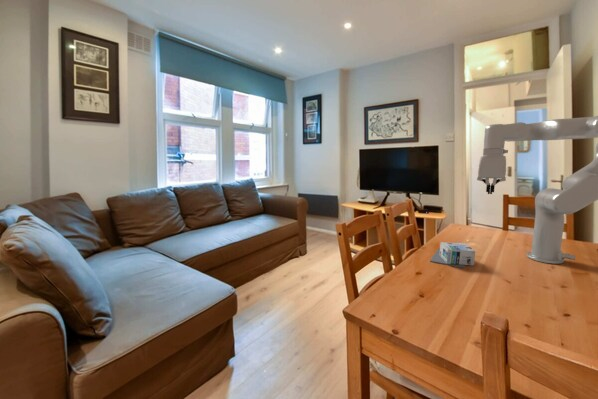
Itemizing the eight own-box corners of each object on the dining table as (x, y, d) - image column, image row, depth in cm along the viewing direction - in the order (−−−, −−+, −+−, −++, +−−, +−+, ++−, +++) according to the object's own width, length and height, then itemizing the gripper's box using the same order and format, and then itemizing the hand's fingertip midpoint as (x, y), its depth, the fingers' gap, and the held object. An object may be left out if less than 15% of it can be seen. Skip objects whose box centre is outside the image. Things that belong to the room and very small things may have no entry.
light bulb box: (476, 250, 113) (447, 249, 115) (474, 266, 114) (446, 264, 116) (465, 242, 124) (440, 241, 126) (464, 257, 125) (438, 255, 127)
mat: (468, 254, 129) (468, 253, 129) (463, 268, 113) (463, 267, 113) (438, 249, 137) (438, 248, 137) (429, 261, 121) (429, 260, 121)
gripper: (514, 152, 120) (510, 193, 123) (474, 153, 129) (471, 191, 132) (514, 152, 114) (510, 195, 117) (472, 153, 123) (469, 193, 126)
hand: (489, 193), depth 124 cm, fingers closed
